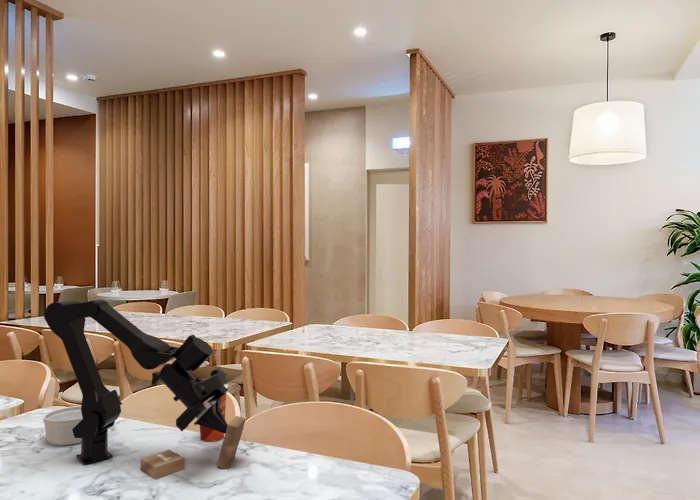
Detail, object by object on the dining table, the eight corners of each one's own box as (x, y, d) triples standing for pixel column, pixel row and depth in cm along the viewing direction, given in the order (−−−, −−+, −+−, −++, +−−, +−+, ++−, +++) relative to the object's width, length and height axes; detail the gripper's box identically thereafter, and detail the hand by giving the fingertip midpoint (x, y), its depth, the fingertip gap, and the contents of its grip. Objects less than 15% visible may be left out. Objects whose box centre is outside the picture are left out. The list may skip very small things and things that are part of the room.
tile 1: (140, 471, 113) (140, 457, 113) (169, 462, 118) (169, 448, 118) (155, 481, 108) (155, 466, 108) (184, 470, 114) (184, 456, 114)
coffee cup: (219, 444, 128) (219, 386, 128) (190, 442, 130) (190, 384, 130) (233, 433, 136) (233, 378, 137) (205, 430, 138) (205, 377, 138)
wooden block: (215, 465, 114) (227, 424, 114) (224, 454, 120) (235, 415, 120) (225, 469, 114) (237, 427, 114) (234, 458, 120) (245, 418, 119)
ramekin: (35, 439, 132) (36, 413, 132) (88, 426, 142) (88, 401, 142) (53, 452, 123) (53, 424, 124) (108, 437, 133) (108, 411, 133)
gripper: (189, 369, 108) (238, 421, 107) (219, 352, 127) (262, 396, 126) (154, 405, 109) (203, 457, 108) (190, 383, 127) (232, 427, 126)
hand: (228, 431), depth 117 cm, fingers closed
